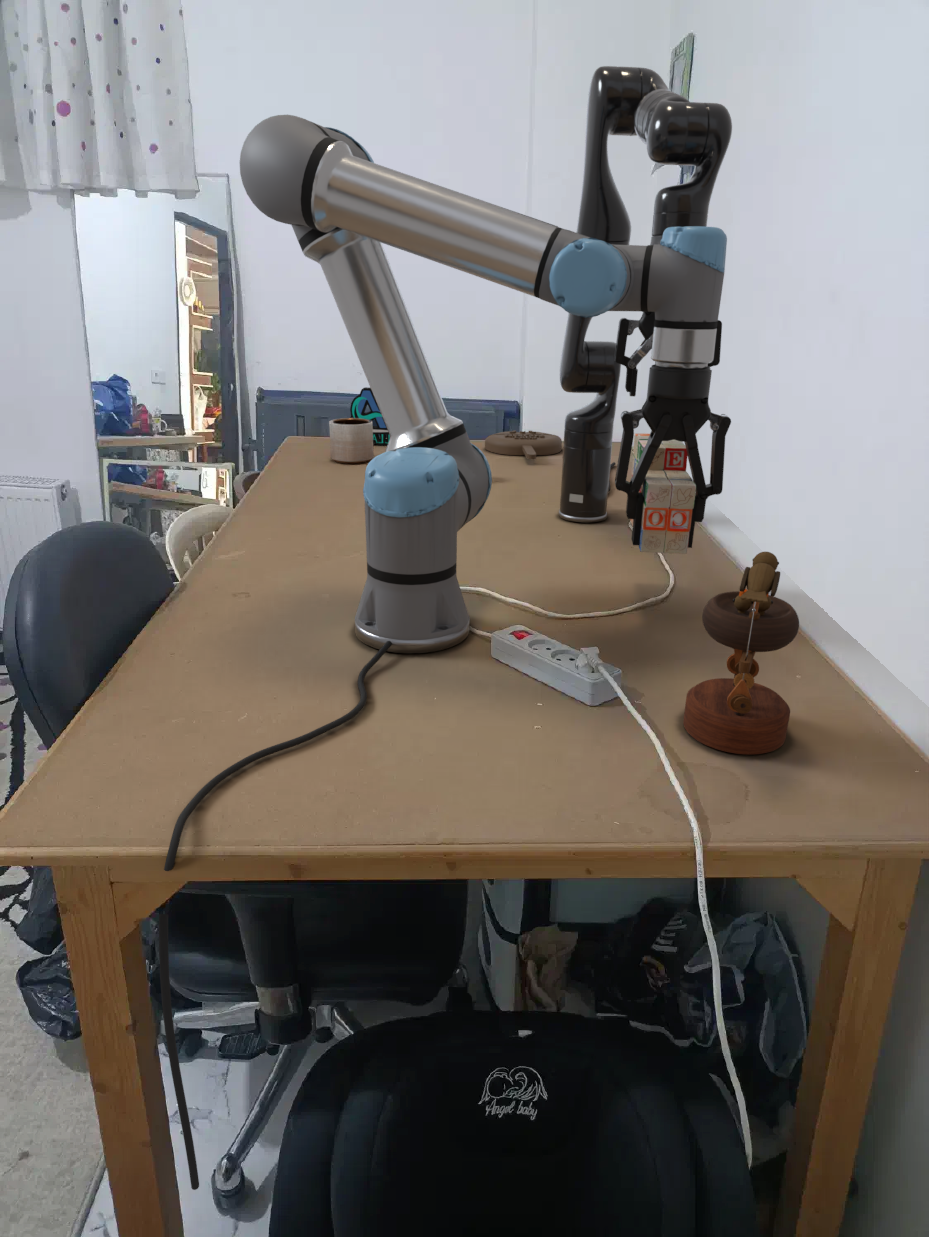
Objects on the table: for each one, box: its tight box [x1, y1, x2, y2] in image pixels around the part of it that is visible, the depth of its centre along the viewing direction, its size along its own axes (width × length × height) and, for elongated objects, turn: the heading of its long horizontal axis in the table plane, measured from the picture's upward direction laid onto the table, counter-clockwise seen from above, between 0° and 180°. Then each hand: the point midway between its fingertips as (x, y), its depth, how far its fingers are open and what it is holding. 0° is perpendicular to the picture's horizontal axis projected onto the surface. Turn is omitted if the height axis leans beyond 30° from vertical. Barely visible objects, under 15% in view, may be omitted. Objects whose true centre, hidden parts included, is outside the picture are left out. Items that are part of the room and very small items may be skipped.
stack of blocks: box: [629, 433, 696, 555], centre depth 118 cm, size 21×6×12 cm, turn 174°
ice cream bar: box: [484, 430, 563, 460], centre depth 224 cm, size 21×28×4 cm
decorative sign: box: [349, 387, 390, 446], centre depth 231 cm, size 19×2×15 cm, turn 86°
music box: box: [682, 551, 800, 755], centre depth 87 cm, size 15×11×20 cm
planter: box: [328, 417, 375, 464], centre depth 212 cm, size 11×11×10 cm
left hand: (661, 543), depth 113 cm, fingers closed on stack of blocks, 6 cm apart
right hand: (662, 396), depth 120 cm, fingers open, 8 cm apart
